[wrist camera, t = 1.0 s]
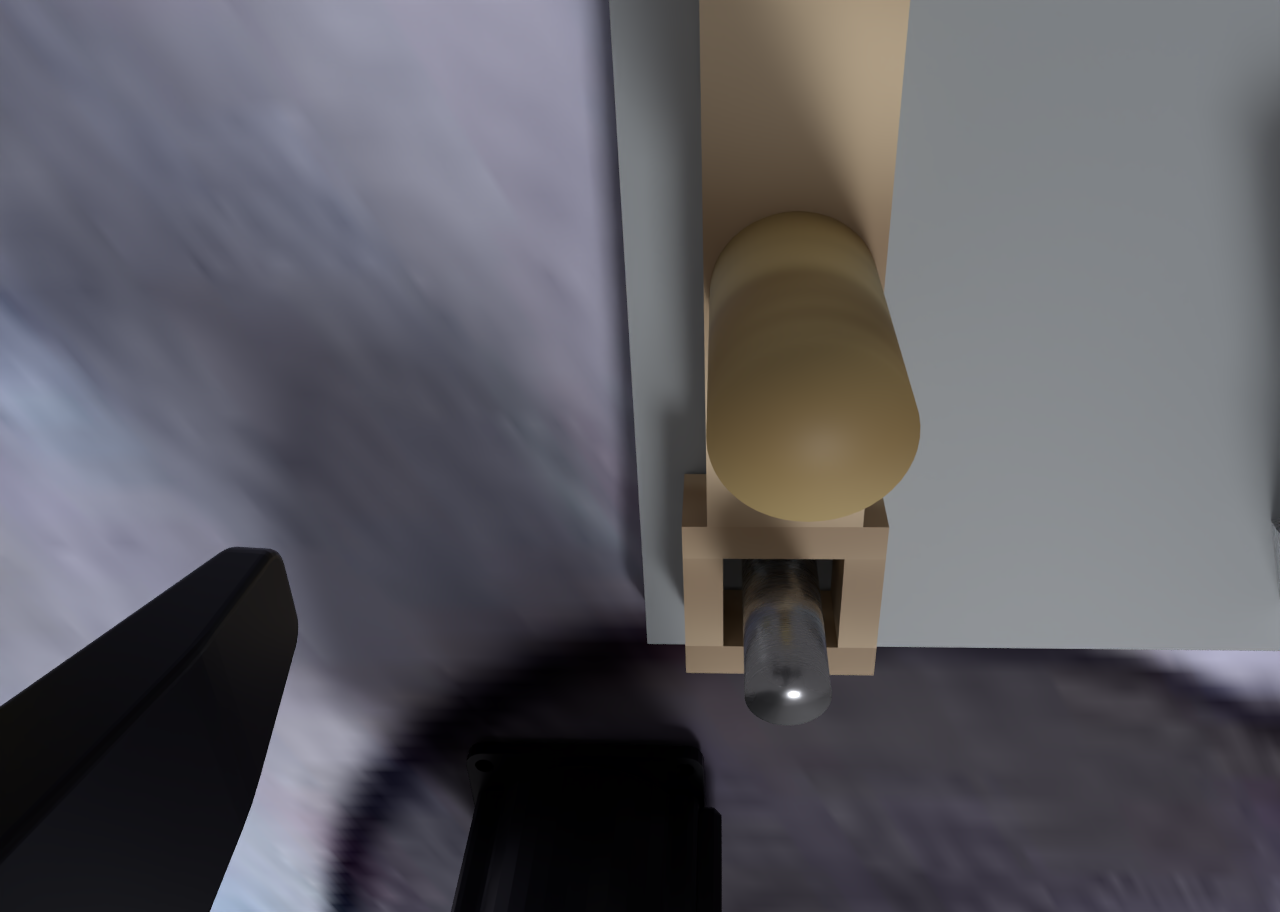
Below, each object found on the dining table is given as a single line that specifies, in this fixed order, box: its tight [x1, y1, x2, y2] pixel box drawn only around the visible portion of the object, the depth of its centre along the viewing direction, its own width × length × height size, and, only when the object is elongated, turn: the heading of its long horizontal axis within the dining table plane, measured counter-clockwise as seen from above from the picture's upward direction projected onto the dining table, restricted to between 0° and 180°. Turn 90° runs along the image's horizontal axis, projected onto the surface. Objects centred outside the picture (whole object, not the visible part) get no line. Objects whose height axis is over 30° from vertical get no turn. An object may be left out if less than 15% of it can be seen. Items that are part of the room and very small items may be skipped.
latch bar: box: [682, 0, 921, 675], centre depth 18 cm, size 14×4×6 cm, turn 3°
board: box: [609, 0, 1280, 651], centre depth 20 cm, size 16×19×1 cm
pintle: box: [742, 559, 832, 725], centre depth 21 cm, size 2×2×4 cm
